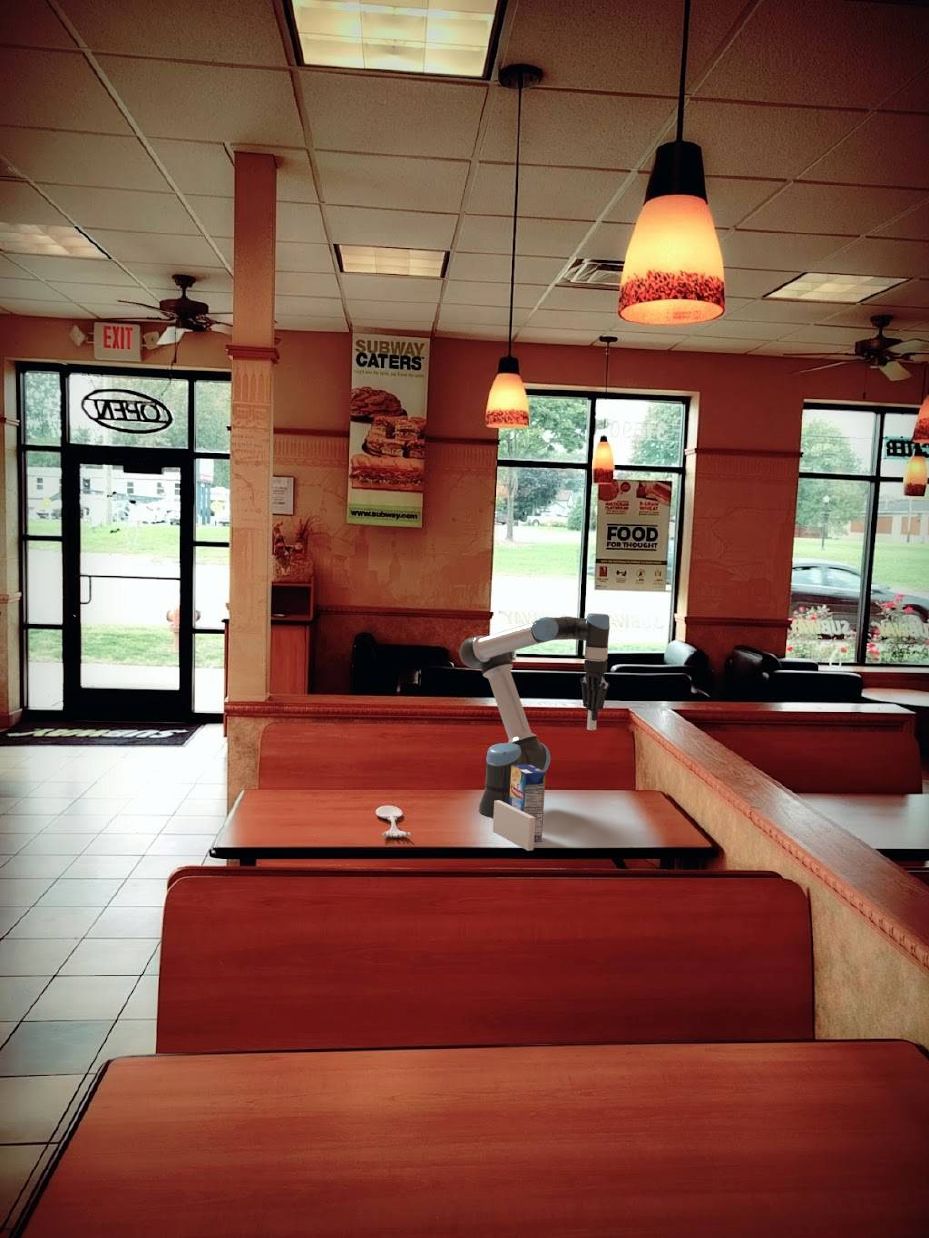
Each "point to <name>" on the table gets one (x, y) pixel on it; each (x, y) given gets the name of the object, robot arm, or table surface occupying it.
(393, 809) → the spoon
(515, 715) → the robot arm
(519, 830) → the board
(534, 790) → the beverage box
